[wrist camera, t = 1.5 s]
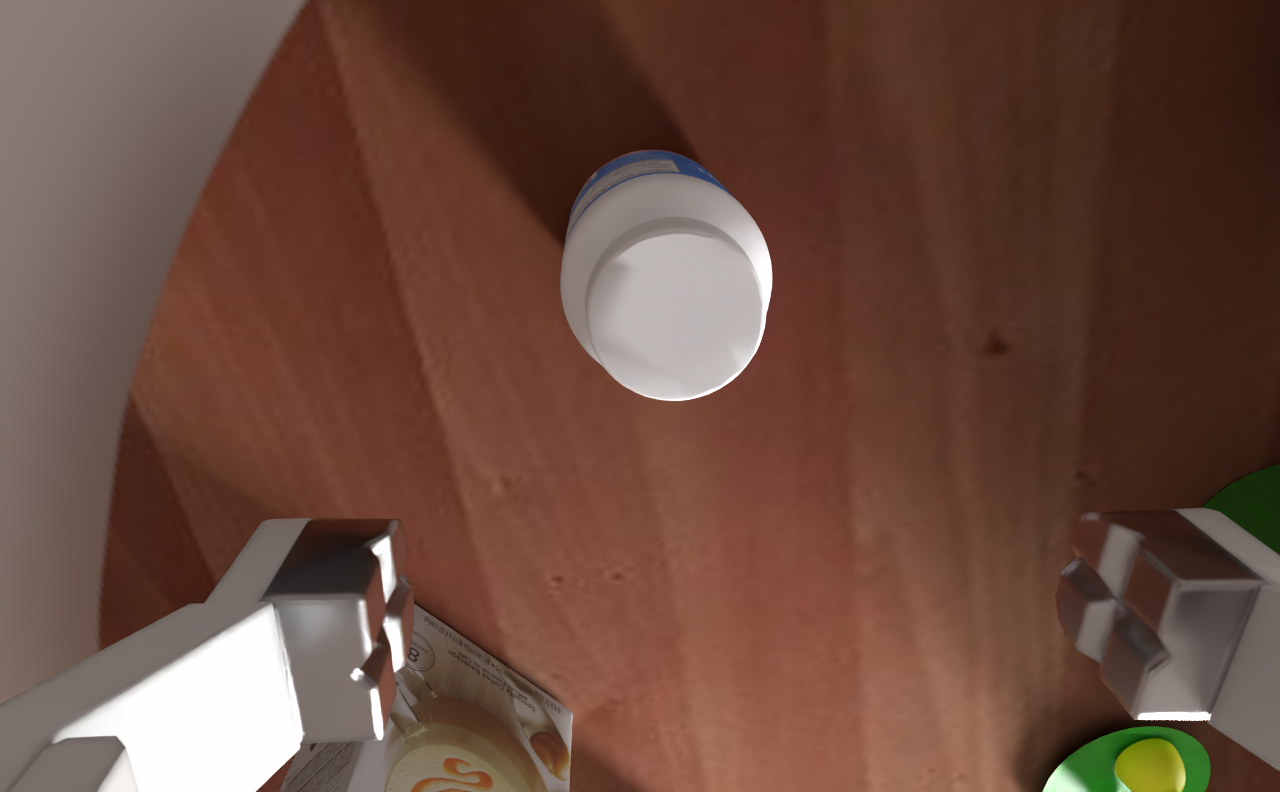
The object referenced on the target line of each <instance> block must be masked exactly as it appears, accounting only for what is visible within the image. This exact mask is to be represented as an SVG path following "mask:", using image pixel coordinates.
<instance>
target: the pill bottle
mask: <svg viewBox="0 0 1280 792" xmlns="http://www.w3.org/2000/svg"><path fill="white" fill-rule="evenodd" d="M560 289H561V299H562V304H563V308H564V312H565V315H566V318H567V321H568V323H569V325H570V328H571V329H572V331H573V333H574V335H575V336H576V338H577V339H578V341H579V342H580V344H581V345H582V346H583V347H584V349H585V350H586V351H587V352H588V354H589V355H590V356H591V357H593V358H594V359H595V360H596V361H597V362H598V363H599V364H601V365H602V366H603V367H604V368H605V369H606V370H607V372H608V373H609V374H610V375H611V376H612V377H613V378H614V379H616V380H617V381H618V382H619V383H621V384H622V385H623V386H625V387H627V388H628V389H630V390H632V391H634V392H636V393H638V394H641V395H643V396H647V397H650V398H653V399H659V400H671V401H678V400H688V399H693V398H697V397H701V396H704V395H708V394H710V393H712V392H714V391H716V390H718V389H720V388H721V387H723V386H725V385H726V384H728V383H729V382H730V381H731V380H733V379H734V378H735V377H736V376H737V375H739V374H740V373H741V372H742V370H743V369H744V368H745V367H746V366H747V364H748V363H749V362H750V360H751V359H752V357H753V356H754V354H755V352H756V351H757V349H758V346H759V344H760V341H761V339H762V335H763V332H764V328H765V321H766V312H767V309H768V305H769V300H770V295H771V289H772V268H771V260H770V256H769V252H768V248H767V245H766V242H765V240H764V238H763V235H762V233H761V231H760V230H759V228H758V226H757V224H756V223H755V221H754V220H753V218H752V217H751V216H750V215H749V213H748V212H747V211H746V210H745V209H744V207H743V206H742V205H741V204H740V203H739V202H738V201H737V200H736V199H735V198H734V197H733V196H732V195H731V194H730V193H729V192H728V191H727V190H726V189H725V187H724V186H723V185H722V184H721V183H720V182H719V181H718V180H717V179H716V178H715V177H714V176H713V175H712V174H711V173H710V172H709V171H708V170H707V169H705V168H704V167H703V166H701V165H700V164H698V163H697V162H695V161H694V160H692V159H690V158H687V157H685V156H683V155H680V154H677V153H674V152H670V151H664V150H641V151H635V152H631V153H627V154H624V155H622V156H619V157H617V158H615V159H613V160H611V161H609V162H608V163H606V164H605V165H603V166H602V167H601V168H599V169H598V170H597V171H596V172H595V173H594V174H592V175H591V176H590V178H589V179H588V180H587V181H586V183H585V184H584V186H583V187H582V189H581V191H580V192H579V194H578V196H577V198H576V200H575V202H574V204H573V207H572V210H571V214H570V219H569V224H568V229H567V234H566V240H565V247H564V252H563V258H562V266H561V278H560Z"/></svg>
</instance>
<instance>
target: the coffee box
mask: <svg viewBox="0 0 1280 792" xmlns="http://www.w3.org/2000/svg"><path fill="white" fill-rule="evenodd" d="M394 675H395V683H396V692H397V694H396V697H395V700H394V703H393V707H392V710H391V713H390V716H389V719H388V723H387V726H386V729H385V732H384V735H383V739H382V740H367V741H349V742H330V743H312V744H300V749H299V750H298V751H297V752H296V754H295V757H294V759H293V762H292V764H291V766H290V768H289V770H288V773H287V775H286V777H285V779H284V782H283V784H282V786H281V789H280V791H279V792H569V780H570V763H571V735H572V719H573V714H572V712H571V710H569V709H568V708H566V707H565V706H563V705H562V704H561V703H559V702H558V701H556V700H555V699H553V698H552V697H550V696H549V695H547V694H546V693H544V692H543V691H542V690H540V689H539V688H537V687H536V686H534V685H533V684H531V683H530V682H528V681H527V680H525V679H524V678H522V677H521V676H520V675H518V674H517V673H515V672H514V671H512V670H511V669H509V668H508V667H506V666H505V665H504V664H502V663H501V662H499V661H498V660H496V659H495V658H493V657H492V656H490V655H489V654H487V653H486V652H484V651H483V650H482V649H480V648H479V647H477V646H476V645H474V644H473V643H472V642H470V641H469V640H467V639H466V638H464V637H463V636H461V635H460V634H458V633H457V632H455V631H454V630H452V629H451V628H450V627H448V626H447V625H445V624H444V623H442V622H441V621H439V620H438V619H436V618H435V617H433V616H432V615H430V614H429V613H427V612H426V611H424V610H423V609H421V608H420V607H418V606H417V605H415V604H414V624H413V632H412V640H411V647H410V650H409V654H408V657H407V661H406V664H405V665H404V666H403V667H401V668H400V669H399V670H398V671H396V672H395V673H394Z"/></svg>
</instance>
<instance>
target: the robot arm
mask: <svg viewBox="0 0 1280 792" xmlns="http://www.w3.org/2000/svg"><path fill="white" fill-rule="evenodd" d="M1069 544H1070V545H1071V547H1072V549H1073V551H1074V553H1075V555H1076V557H1077V558H1076V559H1075V560H1074V561H1073V562H1072V563H1071V564H1070V565H1069V566H1068V567H1067V568H1066V569H1065V570H1064V571H1062V572H1061V574H1060V578H1059V583H1058V587H1057V592H1056V596H1055V597H1056V605H1057V612H1058V619H1059V621H1060V624H1061V626H1062V628H1063V631H1064V633H1065V635H1066V636H1067V638H1068V639H1069V640H1070V641H1071V643H1072V644H1073V645H1074V647H1075V648H1076V649H1077V650H1078V651H1080V652H1082V653H1083V654H1085V655H1087V656H1089V657H1091V658H1092V659H1094V660H1096V661H1098V662H1099V663H1101V664H1100V672H1099V678H1100V679H1101V680H1102V681H1103V683H1104V684H1105V685H1106V686H1107V687H1108V689H1109V690H1110V691H1111V692H1112V694H1113V695H1114V696H1115V697H1116V698H1117V700H1118V701H1119V702H1120V703H1121V705H1122V706H1123V707H1124V708H1125V710H1126V711H1127V712H1128V713H1129V714H1130V716H1131V717H1132V718H1133V719H1134V720H1208V724H1209V725H1211V726H1212V727H1214V728H1215V729H1217V730H1218V731H1220V732H1221V733H1223V734H1224V735H1226V736H1227V737H1229V738H1231V739H1232V740H1234V741H1235V742H1237V743H1238V744H1240V745H1241V746H1243V747H1244V748H1246V749H1247V750H1249V751H1250V752H1252V753H1253V754H1255V755H1256V756H1258V757H1259V758H1261V759H1262V760H1264V761H1265V762H1267V763H1268V764H1270V765H1271V766H1273V767H1274V768H1276V769H1277V770H1279V771H1280V555H1278V554H1277V553H1276V552H1274V551H1273V550H1271V549H1270V548H1269V547H1267V546H1266V545H1265V544H1263V543H1262V542H1260V541H1259V540H1258V539H1256V538H1255V537H1254V536H1252V535H1251V534H1249V533H1248V532H1247V531H1245V530H1244V529H1243V528H1241V527H1240V526H1238V525H1237V524H1236V523H1234V522H1233V521H1232V520H1230V519H1229V518H1227V517H1226V516H1225V515H1223V514H1222V513H1221V512H1219V511H1215V510H1211V509H1207V508H1189V509H1169V510H1149V511H1122V512H1095V513H1083V514H1082V515H1081V516H1080V518H1079V519H1078V520H1077V522H1076V523H1075V524H1074V527H1073V531H1072V534H1071V537H1070V541H1069ZM407 554H408V544H407V537H406V530H405V526H404V524H403V523H402V521H401V519H331V518H315V519H311V518H284V519H269V520H266V521H263V522H262V523H261V524H260V525H259V527H258V528H257V529H256V531H255V532H254V534H253V535H252V536H251V538H250V539H249V541H248V542H247V543H246V545H245V546H244V548H243V549H242V550H241V552H240V553H239V555H238V556H237V557H236V559H235V560H234V562H233V563H232V564H231V566H230V567H229V569H228V570H227V572H226V573H225V574H224V576H223V577H222V579H221V580H220V581H219V583H218V584H217V586H216V587H215V588H214V590H213V591H212V593H211V594H210V595H209V597H208V598H207V600H206V601H205V602H204V603H201V604H188V605H186V606H184V607H182V608H180V609H179V610H177V611H175V612H173V613H171V614H169V615H167V616H165V617H164V618H162V619H160V620H158V621H156V622H154V623H152V624H150V625H148V626H147V627H145V628H143V629H141V630H139V631H137V632H135V633H133V634H132V635H130V636H128V637H126V638H124V639H122V640H120V641H118V642H116V643H115V644H113V645H111V646H109V647H107V648H105V649H103V650H101V651H100V652H98V653H96V654H94V655H92V656H90V657H88V658H86V659H84V660H83V661H81V662H79V663H77V664H75V665H73V666H71V667H70V668H68V669H66V670H64V671H62V672H60V673H58V674H56V675H54V676H52V677H51V678H49V679H47V680H45V681H43V682H41V683H39V684H38V685H36V686H34V687H32V688H30V689H28V690H26V691H24V692H23V693H21V694H19V695H17V696H15V697H13V698H11V699H9V700H7V701H6V702H4V703H2V704H0V792H255V791H256V790H258V789H259V788H260V787H261V786H262V785H263V784H264V783H265V782H266V781H267V780H268V779H269V778H270V777H271V776H272V775H273V774H274V773H275V772H276V771H277V770H278V769H280V768H281V767H282V766H283V765H284V764H285V763H286V762H287V761H288V760H289V759H290V758H291V757H292V756H293V755H294V754H295V753H296V752H297V751H298V750H299V749H300V744H312V743H330V742H349V741H367V740H382V739H383V735H384V732H385V729H386V726H387V723H388V719H389V716H390V713H391V710H392V707H393V703H394V700H395V697H396V694H397V692H396V683H395V675H394V673H395V672H396V671H398V670H399V669H400V668H401V667H403V666H404V665H405V664H406V661H407V657H408V654H409V650H410V647H411V640H412V632H413V624H414V598H413V588H412V583H411V582H410V581H409V580H408V579H407V578H406V577H405V576H404V575H403V574H402V572H401V571H402V568H403V566H404V563H405V560H406V557H407Z"/></svg>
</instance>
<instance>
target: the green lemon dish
mask: <svg viewBox="0 0 1280 792" xmlns="http://www.w3.org/2000/svg"><path fill="white" fill-rule="evenodd" d="M1210 768H1211V765H1210V761H1209V757H1208V754H1207V752H1206V751H1205V749H1204V747H1203V746H1202V745H1201V744H1200V743H1199V742H1198V741H1197V740H1196V739H1195V738H1194V737H1192V736H1190V735H1188V734H1186V733H1184V732H1182V731H1179V730H1175V729H1171V728H1167V727H1155V726H1148V727H1135V728H1130V729H1125V730H1121V731H1116V732H1114V733H1111V734H1108V735H1105V736H1103V737H1100V738H1098V739H1096V740H1094V741H1092V742H1090V743H1088V744H1086V745H1084V746H1083V747H1081V748H1080V749H1078V750H1077V751H1076V752H1074V753H1073V754H1071V755H1070V756H1069V757H1068V758H1067V759H1066V760H1065V761H1064V762H1062V763H1061V764H1060V765H1059V766H1058V767H1057V769H1056V770H1055V771H1054V773H1053V774H1052V775H1051V777H1050V778H1049V780H1048V782H1047V784H1046V786H1045V788H1044V790H1043V792H1205V790H1206V787H1207V784H1208V782H1209V779H1210Z"/></svg>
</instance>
